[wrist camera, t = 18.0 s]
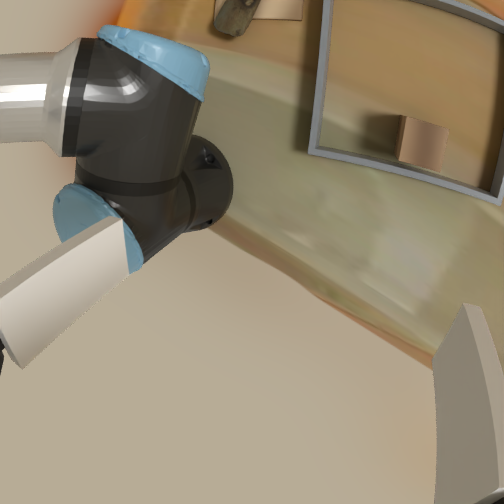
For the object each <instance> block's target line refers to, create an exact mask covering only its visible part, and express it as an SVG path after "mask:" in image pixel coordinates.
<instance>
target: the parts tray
mask: <svg viewBox="0 0 504 504" xmlns="http://www.w3.org/2000/svg"><path fill="white" fill-rule="evenodd" d="M410 1H414V2H417V3H421V4H425V5H428V6H432V7H435V8H438V9H441V10H444V11H447V12H450V13H453V14H456V15H459V16H462V17H464V18H467V19H470V20H472V21H475V22H477V23H480V24H482V25H485V26H487V27H489V28H491V29H494V30H496V31H498V32H500V33H502V34H504V21H503V20H501V19H499V18H497V17H494V16H492V15H490V14H488V13H485V12H483V11H481V10H478V9H476V8H473V7H471V6H468V5H465V4H463V3H460V2H457V1H454V0H410ZM333 2H334V0H324V2H323V15H322V27H321V39H320V50H319V60H318V70H317V80H316V89H315V98H314V107H313V115H312V124H311V132H310V140H309V147H308V154H311V155H316V156H321V157H326V158H331V159H336V160H341V161H346V162H350V163H355V164H359V165H364V166H368V167H372V168H377V169H381V170H385V171H389V172H393V173H396V174H400V175H404V176H408V177H411V178H415V179H419V180H422V181H426V182H429V183H432V184H436V185H439V186H442V187H446V188H449V189H452V190H455V191H458V192H461V193H464V194H467V195H470V196H473V197H476V198H479V199H482V200H485V201H488V202H490V203H493V204H496V205H499V206H501V203H502V200H503V196H504V131H503V137H502V142H501V147H500V152H499V157H498V161H497V166H496V170H495V174H494V178H493V182H492V186H491V189H490V192H488V191H486V190H483V189H480V188H477V187H474V186H471V185H469V184H466V183H463V182H460V181H457V180H453V179H450V178H447V177H444V176H441V175H438V174H434V173H431V172H427V171H424V170H421V169H417V168H413V167H410V166H406V165H402V164H399V163H395V162H391V161H387V160H383V159H379V158H374V157H370V156H366V155H361V154H357V153H352V152H348V151H343V150H338V149H333V148H328V147H323V146H319V138H320V131H321V123H322V115H323V107H324V98H325V90H326V81H327V71H328V61H329V51H330V40H331V28H332V16H333Z"/></svg>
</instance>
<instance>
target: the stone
mask: <svg viewBox="0 0 504 504" xmlns="http://www.w3.org/2000/svg"><path fill="white" fill-rule="evenodd" d="M260 1H261V0H226V1H225V2H224V4H223V6H222V7H221V9H220V11H219V13H218V15H217V16H216V19H215V20H214V27H215V28H216V29H217V30H218V31H219V32H223V33H225V34H230V35H232V36H241V35H243V34H244V32H245V31H246V29H247V27H248V26H249V24H250V22H251V20H252V18H253V16H254V14H255V12H256V10H257V8H258V6H259V4H260Z"/></svg>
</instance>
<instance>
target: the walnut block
mask: <svg viewBox="0 0 504 504" xmlns="http://www.w3.org/2000/svg"><path fill="white" fill-rule="evenodd" d="M448 133H449V129H447V128H444V127H441V126H438V125H434V124H431V123H428V122H425V121H421V120H418V119H414V118H411V117H407V116H403V115H400V120H399V126H398V132H397V138H396V143H395V149H394V154H395V155H396V157H397V159H398V160H399V161H402V162H406V163H410V164H413V165H417V166H420V167H424V168H427V169H430V170H434V171H437V172H440V171H441V167H442V162H443V158H444V153H445V149H446V144H447V139H448Z"/></svg>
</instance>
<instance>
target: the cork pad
mask: <svg viewBox="0 0 504 504" xmlns="http://www.w3.org/2000/svg"><path fill="white" fill-rule="evenodd" d="M225 1H226V0H216V5H215V14H214V20H215V19H216V16H217V15H218V13H219V11H220V9H221V7H222V6H223V4H224V2H225ZM303 2H304V0H261V1H260V4H259V6H258V8H257V10H256V12H255V14H254V16H253V18H252V19H275V20H297V21H302V14H303Z"/></svg>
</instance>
